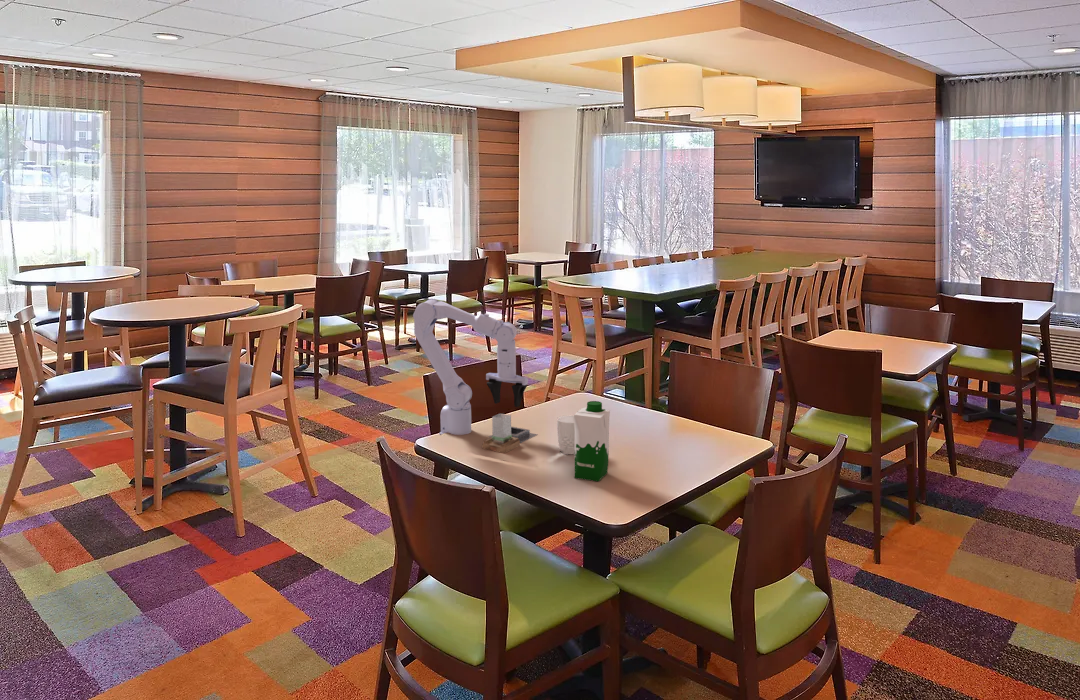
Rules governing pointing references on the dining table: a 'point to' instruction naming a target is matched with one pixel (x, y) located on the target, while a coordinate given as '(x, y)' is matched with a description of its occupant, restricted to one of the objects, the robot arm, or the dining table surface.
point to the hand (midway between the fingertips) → (507, 404)
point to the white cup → (566, 434)
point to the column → (501, 428)
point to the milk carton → (591, 441)
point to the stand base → (521, 434)
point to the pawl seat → (501, 445)
